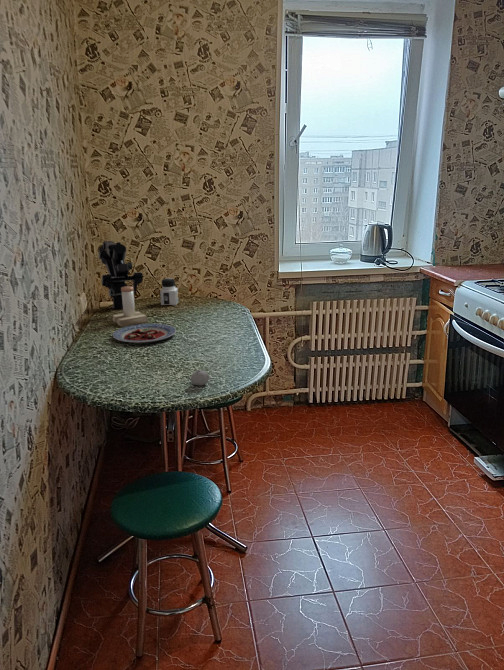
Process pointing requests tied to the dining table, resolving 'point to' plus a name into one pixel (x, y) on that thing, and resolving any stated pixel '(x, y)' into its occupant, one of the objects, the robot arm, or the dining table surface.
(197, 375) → the garlic
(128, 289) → the jar
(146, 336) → the ceramic plate
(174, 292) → the container
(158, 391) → the dining table surface
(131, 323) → the base block
